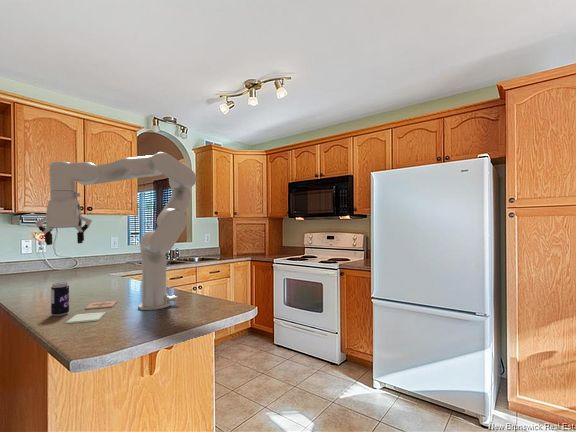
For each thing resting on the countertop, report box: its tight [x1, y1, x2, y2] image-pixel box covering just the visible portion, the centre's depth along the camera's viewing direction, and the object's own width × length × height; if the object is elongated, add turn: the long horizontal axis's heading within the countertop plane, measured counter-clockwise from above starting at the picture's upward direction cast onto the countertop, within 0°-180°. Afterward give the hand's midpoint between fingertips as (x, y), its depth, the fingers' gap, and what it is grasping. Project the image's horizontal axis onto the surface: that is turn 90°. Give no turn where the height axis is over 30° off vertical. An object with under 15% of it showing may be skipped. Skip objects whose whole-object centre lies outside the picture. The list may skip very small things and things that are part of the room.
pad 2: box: [84, 300, 119, 310], centre depth 138 cm, size 10×10×1 cm
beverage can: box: [50, 281, 70, 317], centre depth 125 cm, size 6×6×12 cm
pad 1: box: [65, 311, 107, 324], centre depth 119 cm, size 10×10×1 cm
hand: (65, 244), depth 116 cm, fingers open, 9 cm apart
